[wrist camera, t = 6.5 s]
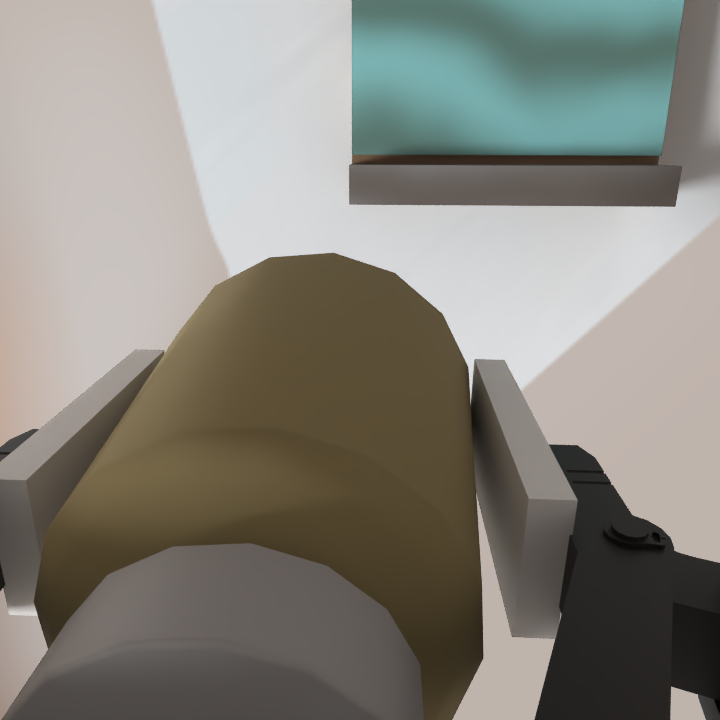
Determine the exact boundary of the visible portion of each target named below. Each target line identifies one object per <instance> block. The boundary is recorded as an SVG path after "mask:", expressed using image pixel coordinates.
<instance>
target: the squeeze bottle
mask: <svg viewBox="0 0 720 720" xmlns="http://www.w3.org/2000/svg"><path fill="white" fill-rule="evenodd" d="M34 605H35V608H36V611H37V615H38V618H39V621H40V624H41V627H42V631H43V634H44V637H45V640H46V643H47V647H48V651H47V652H46V654H45V656H44V657H43V658H42V660H41V661H40V663H39V665H38V666H37V667H36V669H35V670H34V672H33V674H32V675H31V676H30V678H29V679H28V681H27V682H26V684H25V685H24V687H23V688H22V690H21V691H20V693H19V695H18V696H17V697H16V699H15V700H14V702H13V703H12V705H11V706H10V708H9V709H8V711H7V713H6V714H5V715H4V717H3V718H2V720H452V719H453V717H454V715H455V713H456V711H457V709H458V707H459V705H460V703H461V701H462V699H463V697H464V695H465V693H466V691H467V689H468V687H469V685H470V683H471V681H472V679H473V677H474V675H475V673H476V671H477V670H478V667H479V666H480V664H481V662H482V660H483V618H482V579H481V564H480V547H479V531H478V515H477V500H476V483H475V467H474V452H473V436H472V420H471V404H470V388H469V372H468V366H467V364H466V362H465V360H464V358H463V356H462V353H461V351H460V349H459V347H458V345H457V343H456V341H455V339H454V337H453V335H452V333H451V331H450V329H449V327H448V324H447V322H446V320H445V318H444V316H443V314H442V313H441V312H439V311H438V310H437V309H436V308H435V307H434V306H432V305H431V304H430V303H429V302H428V301H427V300H426V299H424V298H423V297H422V296H421V295H420V294H419V293H417V292H416V291H415V290H414V289H413V288H412V287H410V286H409V285H408V284H407V283H406V282H405V281H404V280H402V279H401V278H400V277H399V276H398V275H397V274H395V273H393V272H390V271H387V270H384V269H381V268H378V267H375V266H372V265H369V264H366V263H363V262H360V261H357V260H354V259H350V258H347V257H344V256H341V255H338V254H335V253H326V254H312V255H299V256H285V257H271V258H268V259H266V260H264V261H262V262H260V263H258V264H256V265H254V266H253V267H251V268H249V269H247V270H245V271H243V272H241V273H239V274H237V275H235V276H233V277H231V278H229V279H228V280H226V281H224V282H222V283H220V284H218V285H216V286H215V287H214V288H213V289H212V291H211V292H210V293H209V294H208V296H207V297H206V298H205V300H204V301H203V302H202V303H201V305H200V306H199V307H198V308H197V310H196V311H195V312H194V314H193V315H192V316H191V317H190V319H189V320H188V321H187V322H186V324H185V325H184V326H183V328H182V329H181V330H180V331H179V333H178V334H177V336H176V337H175V339H174V340H173V342H172V343H171V345H170V346H169V348H168V350H167V351H166V352H165V354H164V355H163V357H162V358H161V360H160V361H159V363H158V364H157V366H156V367H155V369H154V370H153V372H152V373H151V375H150V376H149V378H148V379H147V381H146V382H145V384H144V385H143V387H142V388H141V390H140V391H139V393H138V394H137V396H136V397H135V399H134V400H133V402H132V403H131V405H130V406H129V408H128V409H127V411H126V412H125V414H124V415H123V417H122V418H121V420H120V421H119V423H118V424H117V426H116V427H115V429H114V430H113V432H112V433H111V434H110V436H109V437H108V439H107V440H106V442H105V443H104V445H103V446H102V448H101V449H100V451H99V452H98V454H97V455H96V457H95V458H94V460H93V461H92V463H91V464H90V466H89V467H88V469H87V470H86V472H85V473H84V475H83V476H82V478H81V479H80V481H79V482H78V484H77V485H76V487H75V488H74V490H73V491H72V493H71V494H70V496H69V497H68V499H67V500H66V502H65V503H64V505H63V506H62V508H61V509H60V511H59V512H58V514H57V515H56V517H55V518H54V520H53V521H52V523H51V524H50V526H49V527H48V529H47V530H46V533H45V539H44V545H43V551H42V556H41V562H40V568H39V573H38V579H37V585H36V591H35V596H34Z"/></svg>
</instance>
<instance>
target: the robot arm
mask: <svg viewBox="0 0 720 720" xmlns="http://www.w3.org/2000/svg"><path fill="white" fill-rule="evenodd" d="M163 355H164V350H134V351H133V352H132V353H131V354H130V355H128V356H127V357H126V358H125V359H123V360H122V361H121V362H120V363H119V364H117V365H116V366H115V367H114V368H113V369H111V370H110V371H109V372H108V373H107V374H105V375H104V376H103V377H102V378H101V379H99V380H98V381H97V382H96V383H95V384H93V385H92V386H91V387H90V388H89V389H87V390H86V391H85V392H84V393H83V394H81V395H80V396H79V397H78V398H77V399H75V400H74V401H73V402H72V403H70V404H69V405H68V406H67V407H66V408H65V409H63V410H62V411H61V412H60V413H58V414H57V415H56V416H55V417H54V418H52V419H51V420H50V421H49V422H48V423H46V424H45V425H44V426H43V427H42V428H40V429H32V430H30V431H28V432H25V433H23V434H21V435H19V436H17V437H15V438H13V439H10V440H9V441H8V442H6V443H5V444H4V445H3V446H1V447H0V591H1V589H2V588H4V593H5V597H6V602H7V607H8V611H9V614H10V615H31V616H38V615H37V611H36V608H35V605H34V596H35V591H36V585H37V579H38V573H39V568H40V562H41V556H42V551H43V545H44V539H45V533H46V530H47V529H48V527H49V526H50V524H51V523H52V521H53V520H54V518H55V517H56V515H57V514H58V512H59V511H60V509H61V508H62V506H63V505H64V503H65V502H66V500H67V499H68V497H69V496H70V494H71V493H72V491H73V490H74V488H75V487H76V485H77V484H78V482H79V481H80V479H81V478H82V476H83V475H84V473H85V472H86V470H87V469H88V467H89V466H90V464H91V463H92V461H93V460H94V458H95V457H96V455H97V454H98V452H99V451H100V449H101V448H102V446H103V445H104V443H105V442H106V440H107V439H108V437H109V436H110V434H111V433H112V432H113V430H114V429H115V427H116V426H117V424H118V423H119V421H120V420H121V418H122V417H123V415H124V414H125V412H126V411H127V409H128V408H129V406H130V405H131V403H132V402H133V400H134V399H135V397H136V396H137V394H138V393H139V391H140V390H141V388H142V387H143V385H144V384H145V382H146V381H147V379H148V378H149V376H150V375H151V373H152V372H153V370H154V369H155V367H156V366H157V364H158V363H159V361H160V360H161V358H162V357H163ZM471 420H472V436H473V452H474V467H475V483H476V493H477V497H478V501H479V505H480V509H481V513H482V518H483V522H484V526H485V530H486V534H487V538H488V542H489V546H490V550H491V554H492V558H493V562H494V566H495V570H496V574H497V578H498V582H499V586H500V590H501V595H502V598H503V603H504V607H505V611H506V615H507V619H508V623H509V627H510V631H511V635H512V637H527V638H549V639H555V643H554V646H553V650H552V654H551V658H550V662H549V666H548V670H547V674H546V677H545V682H544V685H543V689H542V693H541V697H540V701H539V705H538V709H537V712H536V716H535V720H670V703H671V701H670V700H671V686H672V687H675V688H678V689H681V690H685V691H689V692H692V693H695V694H698V698H699V701H700V704H701V706H702V709H703V712H704V715H705V718H706V720H720V563H717V562H713V561H708V560H704V559H699V558H696V557H692V556H688V555H685V554H681V553H678V552H676V551H674V546H673V543H672V540H671V538H670V537H669V536H668V535H667V534H666V533H665V532H664V531H663V530H662V529H661V528H659V527H658V526H656V525H654V524H652V523H651V522H649V521H647V520H644V519H641V518H638V517H636V516H633V515H632V514H631V513H630V511H629V509H628V508H627V506H626V505H625V503H624V502H623V500H622V499H621V497H620V496H619V494H618V493H617V491H616V489H615V488H614V486H613V485H611V482H610V480H609V479H608V477H607V476H606V474H604V471H603V469H602V468H601V466H600V465H599V463H598V462H597V460H596V459H595V457H593V456H592V455H591V454H589V453H587V452H586V451H585V450H583V449H582V448H580V447H579V446H577V445H549V444H548V443H547V441H546V439H545V437H544V435H543V433H542V431H541V429H540V427H539V426H538V423H537V421H536V420H535V418H534V416H533V414H532V412H531V410H530V408H529V406H528V404H527V403H526V400H525V399H524V397H523V395H522V393H521V391H520V389H519V387H518V385H517V383H516V381H515V379H514V377H513V376H512V374H511V372H510V370H509V368H508V366H507V364H506V362H505V360H484V359H475V361H474V373H473V385H472V398H471ZM560 612H561V613H560ZM560 614H562V615H561V620H560ZM559 620H560V623H559Z"/></svg>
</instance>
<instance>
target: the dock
mask: <svg viewBox="0 0 720 720" xmlns="http://www.w3.org/2000/svg"><path fill="white" fill-rule="evenodd" d="M684 1H685V0H352V164H351V165H349V204H357V205H513V206H669V207H675V206H676V200H677V193H678V187H679V181H680V175H681V169H682V166H667V165H658V159H659V156H661V154H662V148H663V141H664V134H665V127H666V121H667V114H668V107H669V101H670V94H671V87H672V81H673V74H674V67H675V61H676V54H677V47H678V41H679V34H680V27H681V21H682V14H683V7H684Z"/></svg>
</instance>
